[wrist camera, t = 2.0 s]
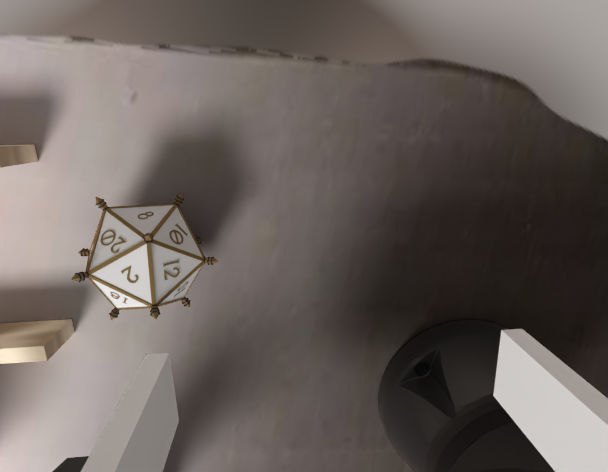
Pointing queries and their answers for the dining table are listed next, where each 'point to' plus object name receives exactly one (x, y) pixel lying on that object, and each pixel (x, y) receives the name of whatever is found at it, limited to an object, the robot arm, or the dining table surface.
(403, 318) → the dining table surface
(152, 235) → the game die
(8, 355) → the corral
